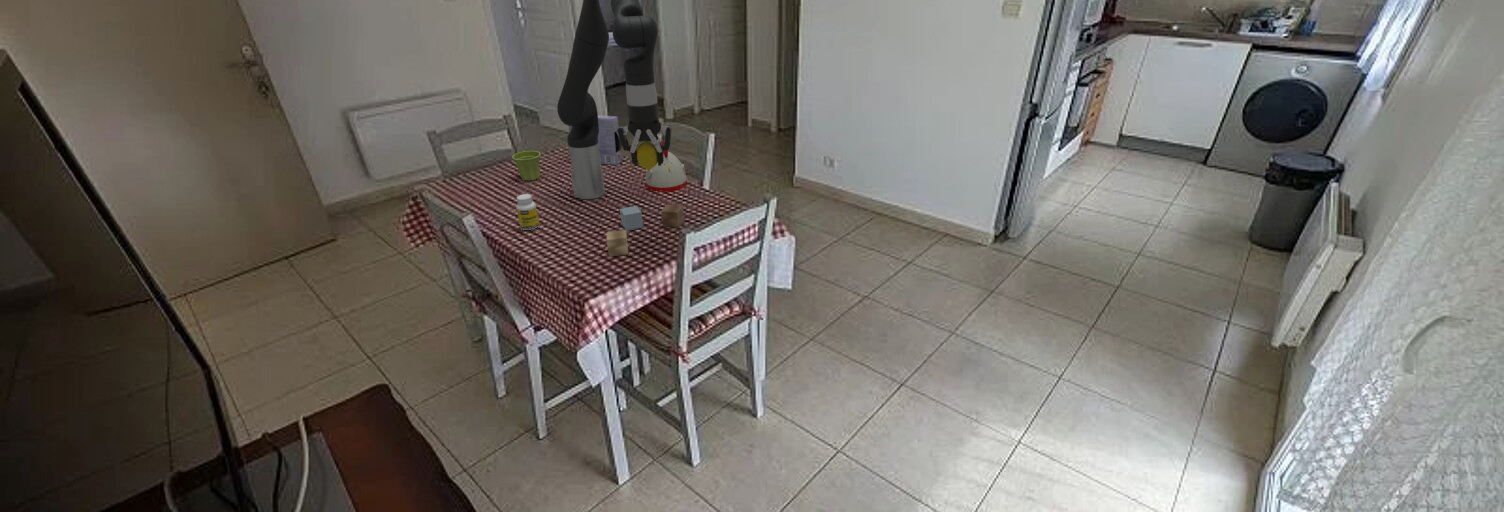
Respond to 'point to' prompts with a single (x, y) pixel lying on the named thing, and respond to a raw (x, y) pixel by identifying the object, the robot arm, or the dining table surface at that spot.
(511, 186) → the dining table surface
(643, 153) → the lemon
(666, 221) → the block walnut
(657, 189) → the kitchen timer
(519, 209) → the supplement bottle
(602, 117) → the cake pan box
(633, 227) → the block slate
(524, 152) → the plant pot
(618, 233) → the block oak
